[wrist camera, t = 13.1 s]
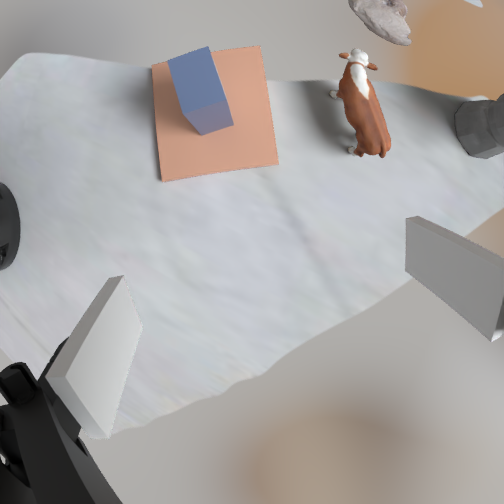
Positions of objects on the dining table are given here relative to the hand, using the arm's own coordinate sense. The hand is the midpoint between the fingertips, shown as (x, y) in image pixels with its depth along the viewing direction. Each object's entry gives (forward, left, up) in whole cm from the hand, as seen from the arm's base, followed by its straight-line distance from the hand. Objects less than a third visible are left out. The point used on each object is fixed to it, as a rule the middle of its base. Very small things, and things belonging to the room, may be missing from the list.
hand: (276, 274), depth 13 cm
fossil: (+21, +29, -25) cm, 43 cm away
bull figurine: (+13, +13, -24) cm, 30 cm away
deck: (-4, +15, -23) cm, 28 cm away
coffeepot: (+35, +12, -24) cm, 44 cm away
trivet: (-4, +15, -24) cm, 29 cm away
